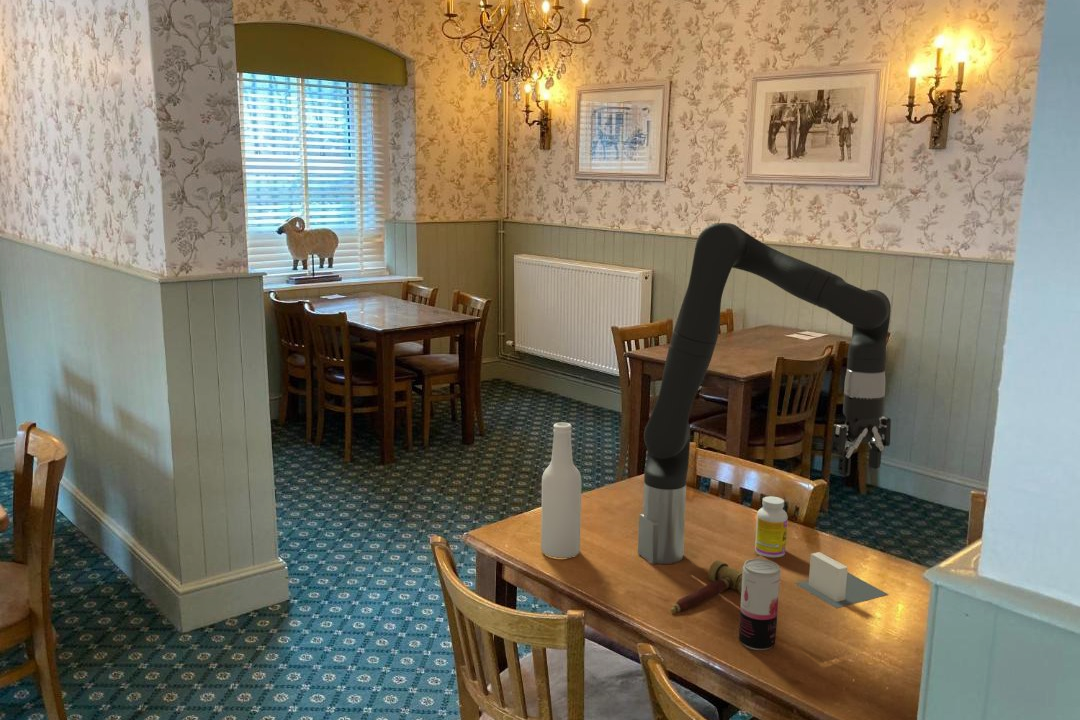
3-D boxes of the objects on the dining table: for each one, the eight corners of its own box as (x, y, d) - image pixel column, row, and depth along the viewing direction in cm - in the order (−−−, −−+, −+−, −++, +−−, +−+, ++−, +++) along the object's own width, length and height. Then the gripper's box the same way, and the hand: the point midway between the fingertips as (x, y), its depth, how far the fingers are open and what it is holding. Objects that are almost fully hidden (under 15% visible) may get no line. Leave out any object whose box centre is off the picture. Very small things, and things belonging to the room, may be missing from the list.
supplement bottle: (785, 561, 197) (789, 506, 194) (755, 558, 198) (758, 503, 196) (783, 549, 203) (787, 495, 201) (754, 546, 205) (757, 493, 202)
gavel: (690, 610, 168) (652, 590, 176) (690, 631, 169) (652, 611, 177) (760, 573, 181) (722, 557, 188) (760, 594, 182) (721, 576, 189)
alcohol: (587, 551, 201) (590, 424, 195) (563, 564, 194) (565, 432, 188) (557, 541, 206) (559, 416, 200) (533, 553, 200) (534, 424, 193)
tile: (836, 601, 177) (839, 569, 175) (808, 585, 184) (810, 553, 182) (845, 599, 178) (847, 567, 176) (816, 583, 185) (819, 551, 183)
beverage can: (781, 649, 160) (787, 572, 157) (747, 653, 159) (752, 575, 156) (765, 631, 166) (770, 556, 163) (732, 634, 165) (737, 559, 162)
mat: (836, 610, 174) (836, 608, 174) (794, 585, 185) (794, 583, 185) (888, 597, 180) (888, 594, 180) (845, 573, 191) (845, 571, 191)
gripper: (873, 384, 181) (868, 460, 184) (823, 392, 174) (819, 471, 177) (904, 391, 174) (898, 470, 178) (854, 400, 168) (848, 482, 171)
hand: (859, 471), depth 177 cm, fingers open, 8 cm apart
